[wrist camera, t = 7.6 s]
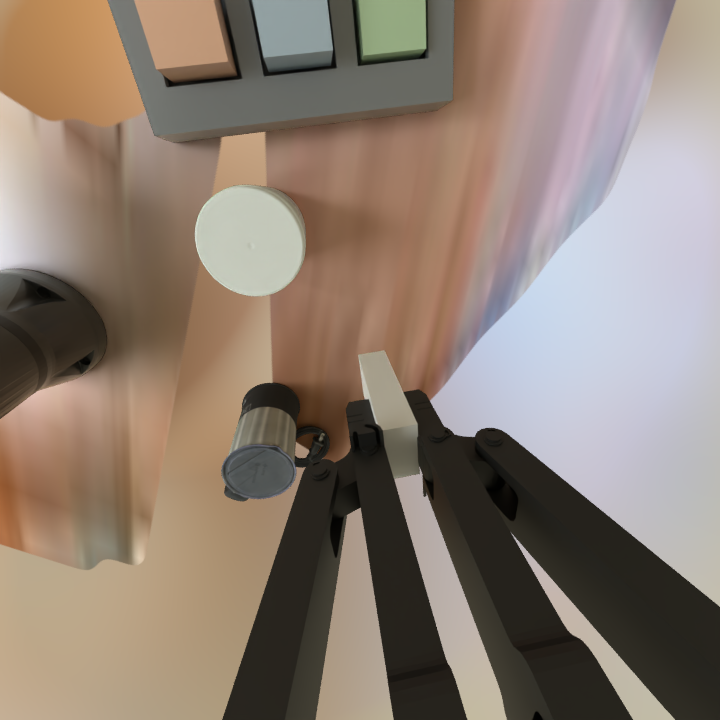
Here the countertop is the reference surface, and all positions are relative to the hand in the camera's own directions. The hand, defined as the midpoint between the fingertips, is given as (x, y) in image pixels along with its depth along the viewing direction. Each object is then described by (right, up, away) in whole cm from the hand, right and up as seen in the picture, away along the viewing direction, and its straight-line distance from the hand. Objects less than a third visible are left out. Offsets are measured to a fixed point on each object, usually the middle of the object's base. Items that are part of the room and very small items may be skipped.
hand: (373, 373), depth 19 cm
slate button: (-7, +32, +11) cm, 34 cm away
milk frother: (-13, -9, +37) cm, 40 cm away
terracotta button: (-16, +30, +11) cm, 36 cm away
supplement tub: (-12, +18, +23) cm, 31 cm away
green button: (+2, +34, +14) cm, 37 cm away
